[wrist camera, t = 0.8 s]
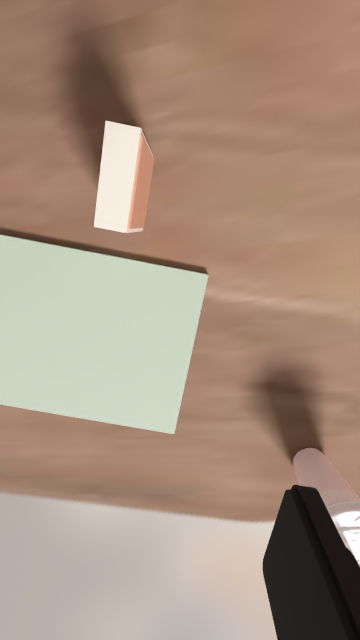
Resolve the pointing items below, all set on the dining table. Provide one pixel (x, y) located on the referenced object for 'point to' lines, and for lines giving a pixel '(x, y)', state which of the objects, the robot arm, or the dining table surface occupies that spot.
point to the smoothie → (331, 494)
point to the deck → (123, 179)
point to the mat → (95, 334)
